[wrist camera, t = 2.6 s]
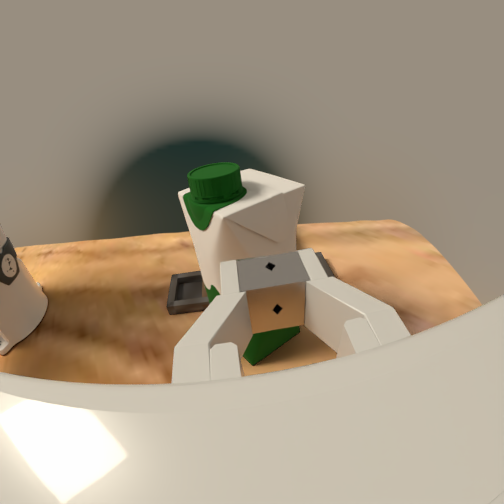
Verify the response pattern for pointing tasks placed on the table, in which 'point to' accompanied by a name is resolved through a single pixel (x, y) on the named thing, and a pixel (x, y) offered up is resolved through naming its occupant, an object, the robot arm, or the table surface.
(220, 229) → the soya milk
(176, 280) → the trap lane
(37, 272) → the table surface
